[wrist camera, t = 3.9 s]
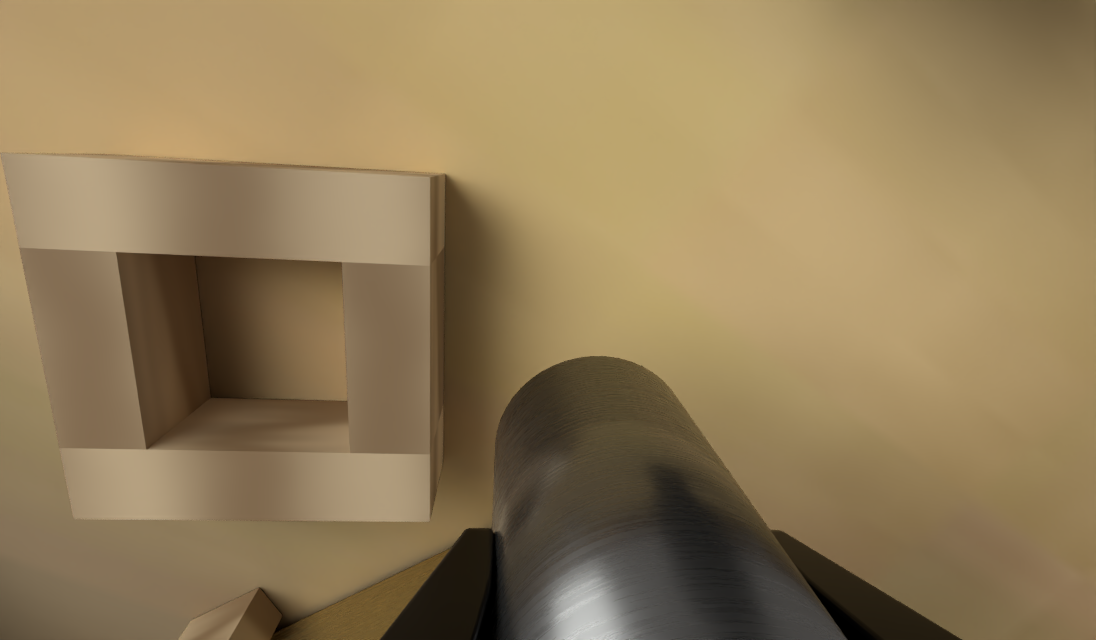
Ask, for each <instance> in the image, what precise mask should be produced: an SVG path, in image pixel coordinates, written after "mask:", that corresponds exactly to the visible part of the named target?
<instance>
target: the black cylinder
mask: <svg viewBox="0 0 1096 640" xmlns="http://www.w3.org/2000/svg"><path fill="white" fill-rule="evenodd" d="M492 530H493V532H494V541H493V570H492V596H491V610H490V620H489V630H488V640H847V638H846V637H845V636H844V634H843V633H842V631H841V630H840V628H839V627H838V626H837V624H836V623H835V621H834V620H833V618H832V617H831V616H830V614H829V613H828V611H827V610H826V609H825V607H824V606H823V604H822V603H821V601H820V600H819V599H818V597H817V596H816V594H815V593H814V592H813V590H812V589H811V587H810V586H809V584H808V583H807V582H806V580H805V579H804V577H803V576H802V574H801V573H800V572H799V570H798V569H797V567H796V566H795V565H794V563H793V562H792V560H791V559H790V557H789V556H788V555H787V553H786V552H785V550H784V549H783V547H782V546H781V545H780V543H779V542H778V540H777V539H776V538H775V536H774V535H773V533H772V532H771V530H770V529H769V528H768V526H767V525H766V523H765V522H764V521H763V519H762V518H761V516H760V515H759V513H758V512H757V511H756V509H755V508H754V506H753V505H752V503H751V502H750V501H749V499H748V498H747V496H746V495H745V494H744V492H743V491H742V489H741V488H740V486H739V485H738V484H737V482H736V481H735V479H734V478H733V476H732V475H731V474H730V472H729V471H728V469H727V468H726V467H725V465H724V464H723V462H722V461H721V459H720V458H719V457H718V455H717V454H716V452H715V451H714V450H713V448H712V447H711V445H710V444H709V442H708V441H707V440H706V438H705V437H704V435H703V434H702V432H701V431H700V430H699V428H698V427H697V425H696V424H695V423H694V421H693V420H692V418H691V417H690V415H689V414H688V413H687V411H686V410H685V408H684V407H683V405H682V404H681V403H680V401H679V400H678V398H677V397H676V396H675V394H674V393H673V391H672V390H671V389H670V387H669V386H668V385H667V384H666V383H665V382H664V381H663V380H662V379H660V378H659V377H658V376H657V375H655V374H654V373H653V372H651V371H649V370H648V369H646V368H644V367H643V366H640V365H638V364H636V363H633V362H631V361H627V360H623V359H620V358H613V357H606V356H590V357H581V358H576V359H572V360H568V361H564V362H562V363H559V364H556V365H554V366H552V367H550V368H548V369H546V370H544V371H542V372H541V373H539V374H538V375H536V376H535V377H533V378H532V379H531V380H529V381H528V382H527V383H526V384H525V385H524V386H523V387H522V388H521V389H520V390H519V391H518V392H517V393H516V394H515V396H514V397H513V398H512V400H511V401H510V403H509V404H508V406H507V407H506V409H505V411H504V413H503V416H502V418H501V420H500V423H499V427H498V430H497V435H496V442H495V466H494V491H493V517H492Z"/></svg>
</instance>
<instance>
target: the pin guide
mask: <svg viewBox="0 0 1096 640" xmlns="http://www.w3.org/2000/svg"><path fill="white" fill-rule="evenodd" d="M281 617H282V615H281V613H280V612H279V611H278V610H277V608H276V607H275V606H274V605H273V604H272V602H271V601H270V600H269V599H268V598H267V596H266V595H265V594H264V593H263V591H262V590H261V589H260V588H257V589H255V590H253V591H251V592H249V593H247V594H245V595H243V596H241V597H238V598H236V599H234V600H232V601H230V602H228V603H226V604H224V605H222V606H220V607H218V608H216V609H214V610H212V611H210V612H208V613H206V614H204V615H201V616H199V617H197V618H195V619H193V620H191V622H190V623H189V625H188V626H187V627H186V629H185V630H184V632H183V633H182V635H181V636H180V638H179V639H178V640H270V639H271V637H272V635H273V633H274V631H275V629H276V627H277V625H278V623H279V621H280V619H281Z"/></svg>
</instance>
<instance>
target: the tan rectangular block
mask: <svg viewBox="0 0 1096 640" xmlns="http://www.w3.org/2000/svg"><path fill="white" fill-rule="evenodd" d="M450 549H451V548H450ZM450 549H448V550H446V551H444V552H442V553H440V554H438V555H436V556H434V557H432V558H430V559H427V560H425V561H423V562H421V563H419V564H417V565H415V566H413V567H411V568H409V569H407V570H405V571H402V572H400V573H398V574H396V575H394V576H392V577H390V578H388V579H386V580H384V581H382V582H379V583H377V584H375V585H373V586H371V587H369V588H367V589H365V590H363V591H361V592H359V593H356V594H354V595H352V596H350V597H348V598H346V599H344V600H342V601H340V602H338V603H336V604H334V605H331V606H329V607H327V608H325V609H323V610H321V611H319V612H317V613H315V614H313V615H311V616H308V617H306V618H304V619H302V620H300V621H298V622H296V623H294V624H292V625H290V626H288V627H285V628H283V629H281V630H279V631H277V632H275V633H273V635H272V637H271V639H270V640H380V639H381V637H382V636H383V635H384V633H385V632H386V631H387V630H388V628H389V627H390V626H391V624H392V623H393V622H394V621H395V619H396V618H397V617H398V615H399V614H400V613H401V612H402V610H403V609H404V608H405V607H406V605H407V604H408V603H409V601H410V600H411V599H412V598H413V596H414V595H415V594H416V592H417V591H418V590H419V589H420V587H421V586H422V585H423V583H424V582H425V581H426V580H427V578H428V577H429V576H430V574H431V573H432V572H433V571H434V569H435V568H436V567H437V565H438V564H439V563H440V562H441V560H442V559H443V558H444V556H445V555H446V554H447V553H448V551H449V550H450Z"/></svg>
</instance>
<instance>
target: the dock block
mask: <svg viewBox="0 0 1096 640" xmlns="http://www.w3.org/2000/svg"><path fill="white" fill-rule="evenodd" d="M0 154H1V159H2V164H3V169H4V174H5V179H6V184H7V189H8V194H9V199H10V204H11V209H12V214H13V219H14V224H15V229H16V234H17V239H18V244H19V249H20V254H21V259H22V264H23V269H24V274H25V279H26V284H27V289H28V294H29V299H30V304H31V309H32V314H33V319H34V324H35V329H36V334H37V339H38V344H39V349H40V354H41V359H42V364H43V369H44V374H45V379H46V383H47V388H48V393H49V398H50V403H51V408H52V413H53V418H54V423H55V428H56V433H57V438H58V443H59V448H60V453H61V458H62V463H63V468H64V473H65V478H66V483H67V488H68V493H69V498H70V503H71V508H72V513H73V518H74V519H120V520H250V521H379V522H430V519H431V515H432V510H433V505H434V501H435V496H436V492H437V487H438V482H439V478H440V473H441V469H442V464H443V409H444V278H445V174H440V173H423V172H405V171H388V170H371V169H353V168H336V167H318V166H301V165H284V164H266V163H249V162H232V161H214V160H197V159H180V158H162V157H145V156H128V155H110V154H59V153H0ZM195 256H217V257H240V258H262V259H285V260H307V261H330V262H342V281H343V305H344V328H345V351H346V374H347V398H348V401H319V400H278V399H238V398H211V395H210V386H209V377H208V369H207V360H206V351H205V343H204V334H203V325H202V317H201V308H200V299H199V290H198V282H197V273H196V264H195Z"/></svg>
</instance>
